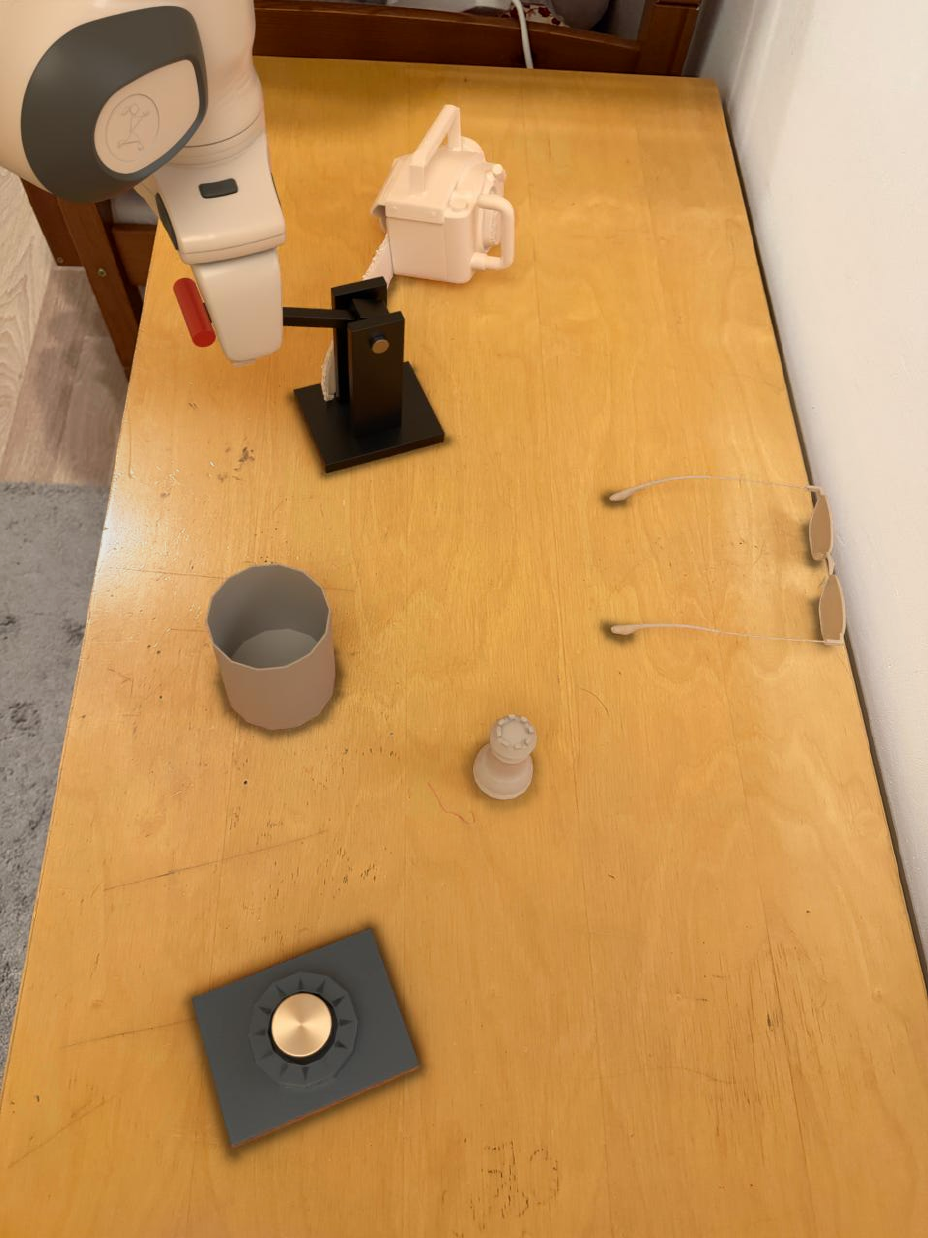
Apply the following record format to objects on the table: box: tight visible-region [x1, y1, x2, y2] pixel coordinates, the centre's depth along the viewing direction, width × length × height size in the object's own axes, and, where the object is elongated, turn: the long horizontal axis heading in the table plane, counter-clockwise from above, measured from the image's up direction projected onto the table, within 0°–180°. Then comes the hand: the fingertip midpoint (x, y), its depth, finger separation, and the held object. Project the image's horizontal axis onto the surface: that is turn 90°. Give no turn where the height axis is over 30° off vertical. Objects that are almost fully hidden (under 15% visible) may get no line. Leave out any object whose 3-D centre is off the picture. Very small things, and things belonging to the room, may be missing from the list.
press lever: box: [172, 277, 390, 349], centre depth 77 cm, size 16×6×2 cm, turn 112°
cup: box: [204, 562, 337, 731], centre depth 73 cm, size 8×8×10 cm
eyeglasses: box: [608, 475, 847, 647], centre depth 84 cm, size 15×18×4 cm
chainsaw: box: [320, 103, 515, 401], centre depth 93 cm, size 15×35×12 cm, turn 165°
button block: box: [191, 927, 420, 1149], centre depth 63 cm, size 12×9×4 cm
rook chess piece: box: [472, 713, 538, 801], centre depth 72 cm, size 4×4×8 cm
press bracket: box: [293, 276, 446, 474], centre depth 85 cm, size 11×9×14 cm
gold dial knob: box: [271, 993, 333, 1060], centre depth 61 cm, size 4×4×2 cm
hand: (224, 313), depth 74 cm, fingers open, 8 cm apart
